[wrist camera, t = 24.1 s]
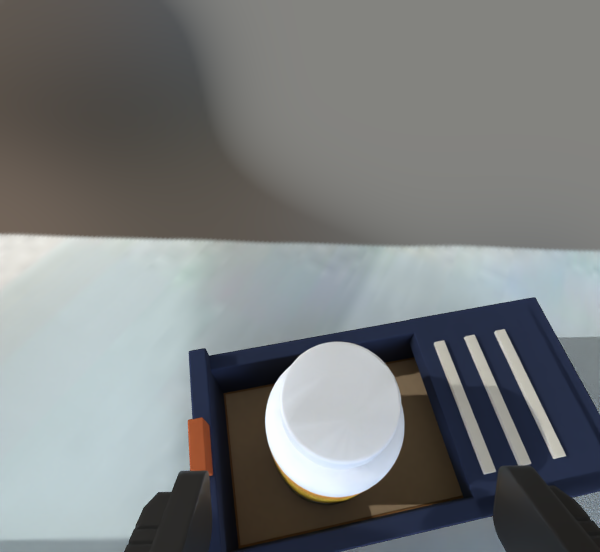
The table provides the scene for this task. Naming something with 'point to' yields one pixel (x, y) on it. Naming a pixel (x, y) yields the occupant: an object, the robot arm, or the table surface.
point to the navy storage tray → (417, 430)
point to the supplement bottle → (334, 422)
